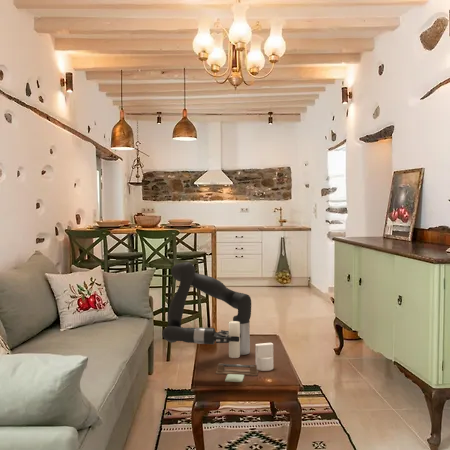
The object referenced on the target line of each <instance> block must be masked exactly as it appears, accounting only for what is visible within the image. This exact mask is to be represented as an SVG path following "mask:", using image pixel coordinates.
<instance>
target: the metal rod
mask: <svg viewBox="0 0 450 450" xmlns="http://www.w3.org/2000/svg"><path fill="white" fill-rule="evenodd" d="M219 365H224V368H225V367H226V368H247V369H248V368H249V369H250V366H254V365H255V364H250V365H249V364H234V363H233V364H230V363H224V364H219ZM254 367H255V366H254Z"/></svg>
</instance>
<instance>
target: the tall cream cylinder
mask: <svg viewBox="0 0 450 450" xmlns="http://www.w3.org/2000/svg"><path fill="white" fill-rule="evenodd" d="M228 331H229V334H228V335H229V336H237V337H239V342H235V341H231V342H229V343H228V357H229V358H231V359H236V358H240V356H241V355H240V322H238V321H233V320H231V321H229V322H228Z"/></svg>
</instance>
